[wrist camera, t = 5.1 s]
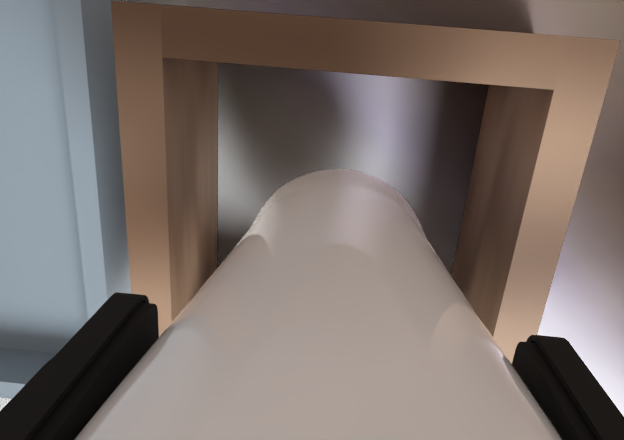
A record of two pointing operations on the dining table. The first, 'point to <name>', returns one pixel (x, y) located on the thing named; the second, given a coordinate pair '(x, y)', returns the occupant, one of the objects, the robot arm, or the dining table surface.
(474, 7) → the dining table surface
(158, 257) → the frame
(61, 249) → the tray
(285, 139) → the dining table surface
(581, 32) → the dining table surface
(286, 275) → the drinking glass
